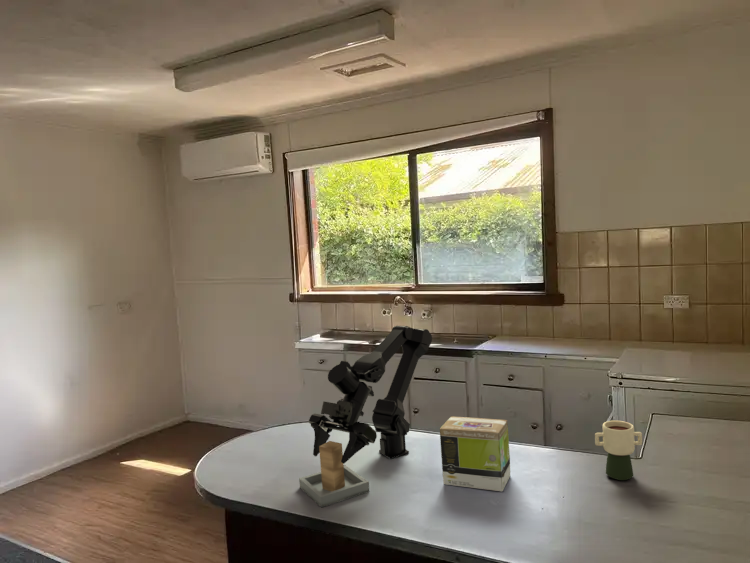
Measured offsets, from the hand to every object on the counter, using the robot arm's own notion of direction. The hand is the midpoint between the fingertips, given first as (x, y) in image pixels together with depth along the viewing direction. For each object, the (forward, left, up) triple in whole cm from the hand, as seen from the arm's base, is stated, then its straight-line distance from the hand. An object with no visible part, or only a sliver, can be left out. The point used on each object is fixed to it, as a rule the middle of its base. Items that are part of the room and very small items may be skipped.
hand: (328, 459), depth 143 cm
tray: (-1, 0, -8) cm, 8 cm away
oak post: (-1, 0, -8) cm, 8 cm away
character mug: (-60, +38, -9) cm, 71 cm away
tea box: (-32, +18, -9) cm, 38 cm away
